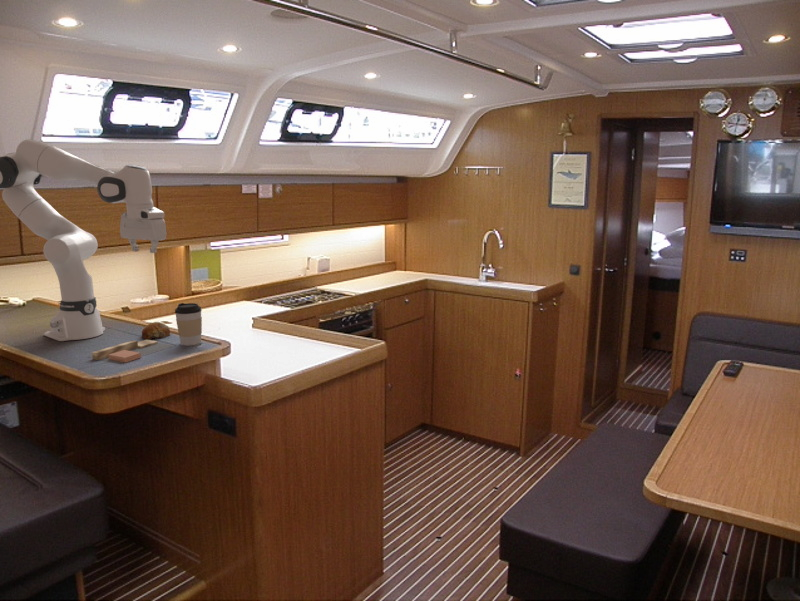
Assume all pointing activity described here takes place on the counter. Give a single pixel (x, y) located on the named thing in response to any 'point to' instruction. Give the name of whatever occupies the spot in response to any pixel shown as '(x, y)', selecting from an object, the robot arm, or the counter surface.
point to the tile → (124, 356)
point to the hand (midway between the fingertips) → (144, 252)
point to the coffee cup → (189, 323)
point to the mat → (144, 351)
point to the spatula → (121, 348)
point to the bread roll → (155, 331)
